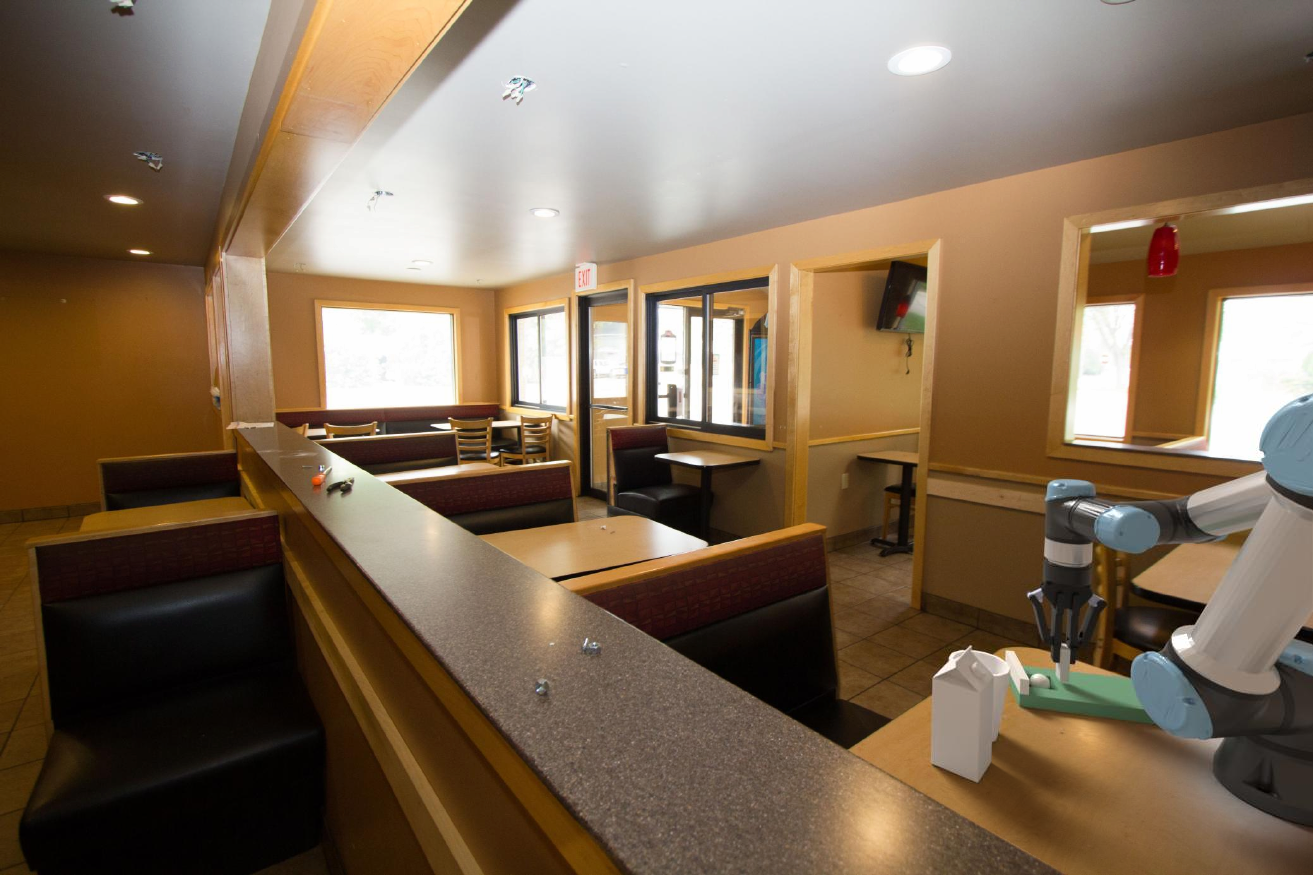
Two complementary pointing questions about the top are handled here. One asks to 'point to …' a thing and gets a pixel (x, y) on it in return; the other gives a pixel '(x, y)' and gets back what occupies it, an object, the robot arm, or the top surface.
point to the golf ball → (1039, 681)
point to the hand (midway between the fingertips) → (1062, 678)
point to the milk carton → (962, 717)
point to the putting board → (1077, 693)
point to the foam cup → (1000, 683)
